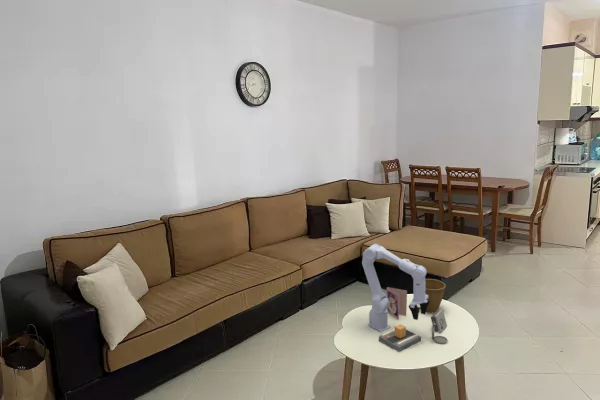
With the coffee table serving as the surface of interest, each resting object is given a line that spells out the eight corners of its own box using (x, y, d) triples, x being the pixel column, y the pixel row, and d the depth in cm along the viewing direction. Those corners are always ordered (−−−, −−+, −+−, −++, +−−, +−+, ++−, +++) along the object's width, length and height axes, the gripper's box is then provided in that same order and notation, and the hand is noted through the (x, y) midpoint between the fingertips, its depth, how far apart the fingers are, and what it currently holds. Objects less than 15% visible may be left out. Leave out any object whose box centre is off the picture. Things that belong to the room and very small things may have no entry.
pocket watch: (450, 343, 209) (451, 324, 207) (435, 346, 207) (436, 326, 205) (440, 335, 217) (441, 316, 215) (425, 337, 215) (426, 319, 213)
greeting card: (385, 312, 243) (385, 287, 240) (395, 309, 246) (396, 284, 243) (397, 320, 233) (398, 294, 230) (408, 317, 236) (409, 292, 233)
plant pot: (411, 310, 244) (412, 284, 241) (425, 302, 254) (426, 276, 251) (435, 319, 234) (436, 291, 231) (449, 310, 244) (450, 283, 240)
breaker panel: (378, 340, 213) (378, 334, 212) (400, 330, 222) (400, 324, 221) (399, 352, 203) (399, 345, 202) (421, 341, 212) (421, 334, 211)
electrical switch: (440, 334, 218) (439, 316, 217) (430, 331, 221) (429, 314, 220) (447, 326, 225) (446, 309, 224) (437, 324, 229) (436, 308, 227)
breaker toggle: (394, 335, 212) (394, 326, 211) (400, 333, 214) (400, 324, 213) (400, 338, 209) (400, 329, 208) (405, 336, 211) (405, 327, 210)
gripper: (419, 297, 204) (419, 324, 206) (434, 288, 214) (433, 313, 217) (406, 293, 209) (406, 320, 211) (421, 284, 219) (421, 309, 221)
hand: (419, 316), depth 214 cm, fingers open, 7 cm apart
